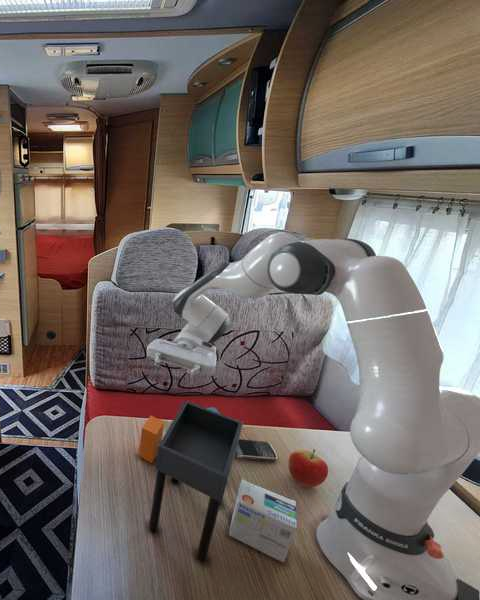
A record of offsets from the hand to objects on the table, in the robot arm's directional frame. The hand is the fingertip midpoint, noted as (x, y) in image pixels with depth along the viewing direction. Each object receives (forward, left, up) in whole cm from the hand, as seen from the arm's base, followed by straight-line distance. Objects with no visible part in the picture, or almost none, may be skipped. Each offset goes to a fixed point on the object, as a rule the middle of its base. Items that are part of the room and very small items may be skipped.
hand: (172, 369), depth 93 cm
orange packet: (0, +12, -21) cm, 24 cm away
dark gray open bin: (-14, +24, -3) cm, 28 cm away
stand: (-14, +24, -21) cm, 35 cm away
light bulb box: (-28, +20, -21) cm, 40 cm away
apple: (-36, -2, -21) cm, 42 cm away
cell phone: (-24, -5, -21) cm, 33 cm away
